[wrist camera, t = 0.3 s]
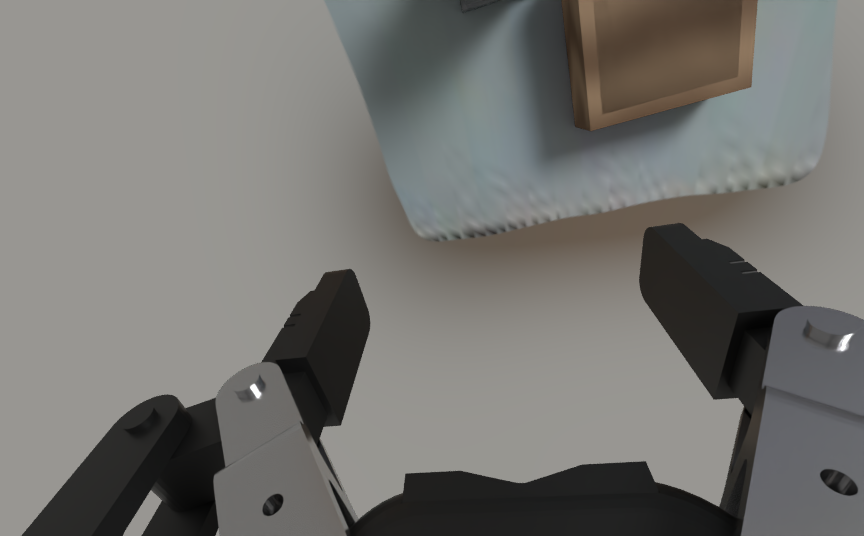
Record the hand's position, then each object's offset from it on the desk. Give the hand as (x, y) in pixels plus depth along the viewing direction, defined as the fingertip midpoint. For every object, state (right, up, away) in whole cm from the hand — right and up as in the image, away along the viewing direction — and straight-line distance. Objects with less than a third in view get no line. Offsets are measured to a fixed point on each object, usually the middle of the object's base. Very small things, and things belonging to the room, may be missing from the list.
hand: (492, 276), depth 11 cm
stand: (+15, +20, +20) cm, 32 cm away
